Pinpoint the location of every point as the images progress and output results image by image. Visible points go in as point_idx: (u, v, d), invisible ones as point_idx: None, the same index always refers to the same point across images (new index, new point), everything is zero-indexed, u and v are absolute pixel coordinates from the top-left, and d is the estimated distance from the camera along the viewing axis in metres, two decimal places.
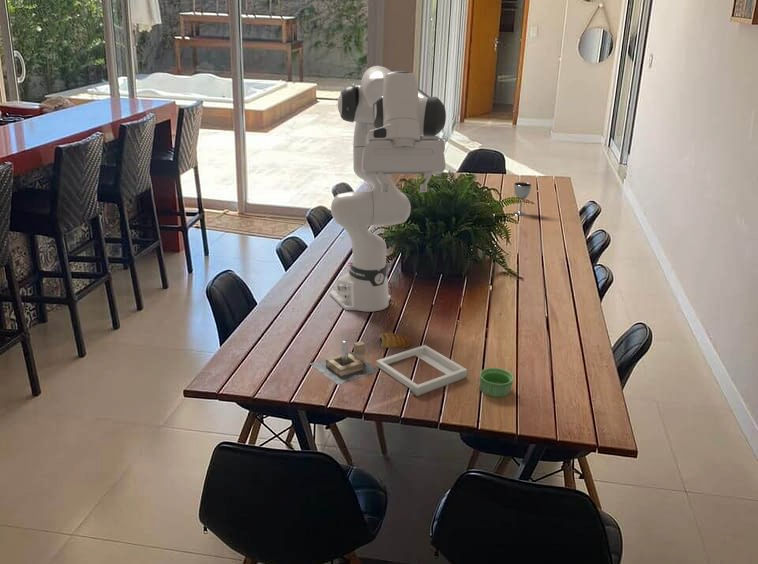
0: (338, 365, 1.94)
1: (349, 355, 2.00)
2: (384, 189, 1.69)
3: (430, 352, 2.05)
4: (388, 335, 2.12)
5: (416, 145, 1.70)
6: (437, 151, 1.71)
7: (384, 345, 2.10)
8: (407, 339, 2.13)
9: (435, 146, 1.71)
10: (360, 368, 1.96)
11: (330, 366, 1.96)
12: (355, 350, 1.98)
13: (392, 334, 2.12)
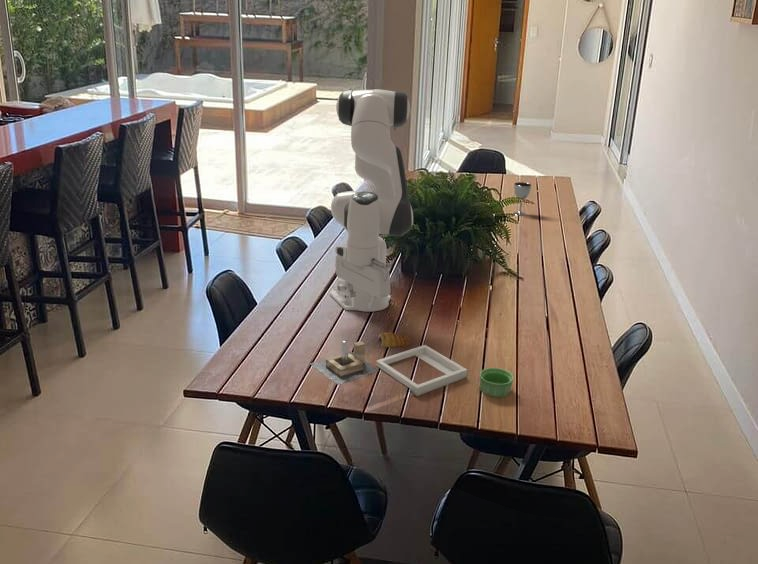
0: (338, 365, 1.94)
1: (349, 355, 2.00)
2: (348, 295, 1.96)
3: (430, 352, 2.05)
4: (387, 335, 2.12)
5: (364, 268, 1.86)
6: (376, 280, 1.83)
7: (384, 345, 2.10)
8: (406, 338, 2.13)
9: (375, 274, 1.82)
10: (360, 368, 1.96)
11: (330, 366, 1.96)
12: (355, 350, 1.98)
13: (391, 334, 2.13)
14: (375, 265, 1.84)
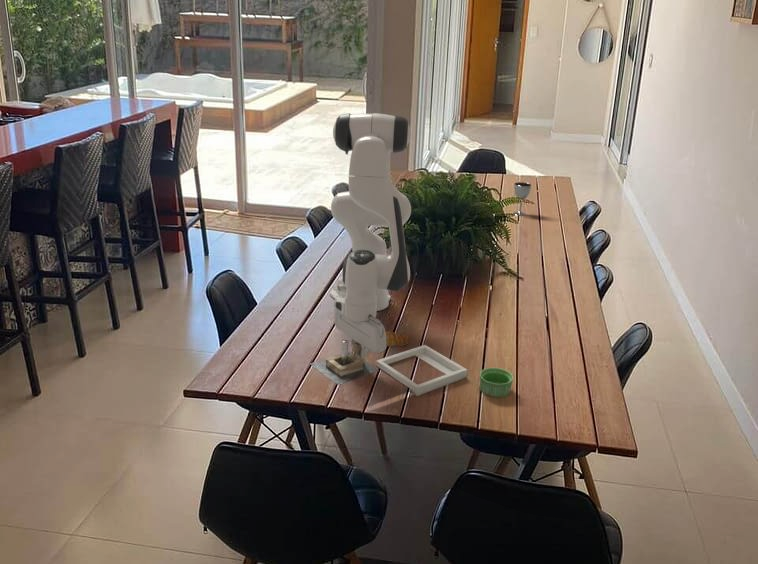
0: (338, 365, 1.94)
1: (349, 355, 2.00)
2: None
3: (430, 352, 2.05)
4: (386, 334, 2.13)
5: (361, 324, 1.92)
6: (372, 336, 1.89)
7: None
8: (405, 337, 2.14)
9: (371, 331, 1.89)
10: (360, 368, 1.96)
11: (330, 366, 1.96)
12: (355, 350, 1.98)
13: (390, 333, 2.13)
14: (372, 321, 1.90)
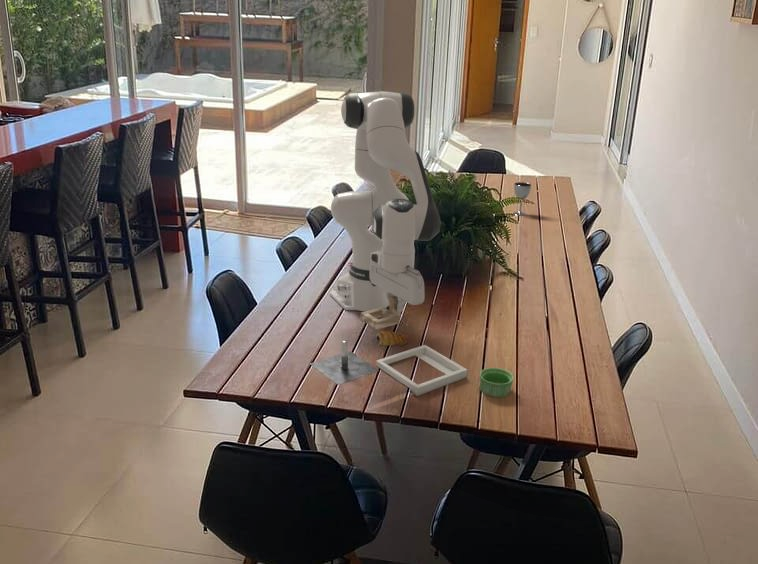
0: (374, 318, 1.88)
1: (384, 310, 1.93)
2: (388, 305, 1.94)
3: (430, 352, 2.05)
4: (385, 333, 2.13)
5: (398, 276, 1.86)
6: (410, 287, 1.83)
7: (382, 343, 2.11)
8: (404, 337, 2.14)
9: (409, 282, 1.82)
10: (396, 322, 1.90)
11: (365, 320, 1.90)
12: (391, 304, 1.92)
13: (389, 332, 2.14)
14: (410, 272, 1.84)
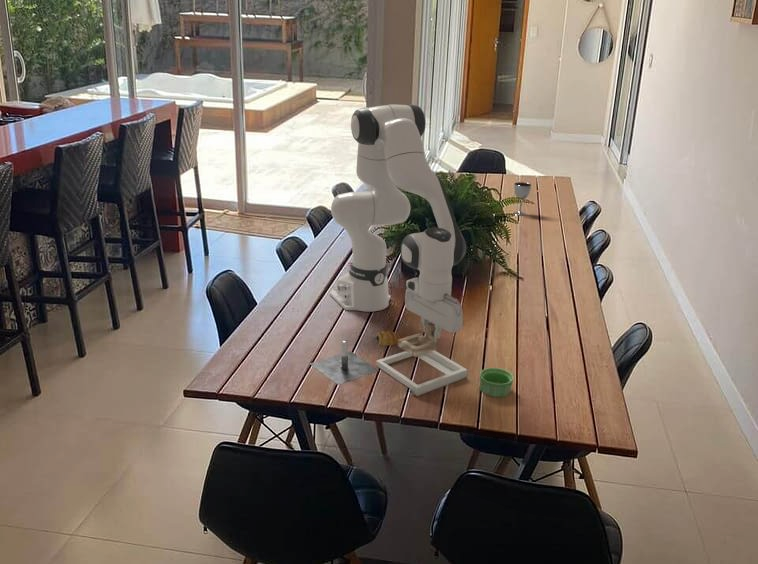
0: (412, 345, 1.90)
1: (421, 336, 1.96)
2: (424, 332, 1.96)
3: (430, 352, 2.05)
4: (385, 333, 2.13)
5: (436, 303, 1.88)
6: (448, 315, 1.85)
7: (381, 343, 2.11)
8: (404, 337, 2.14)
9: (448, 310, 1.85)
10: (434, 349, 1.92)
11: (403, 347, 1.92)
12: (427, 331, 1.94)
13: (389, 332, 2.14)
14: (448, 300, 1.86)
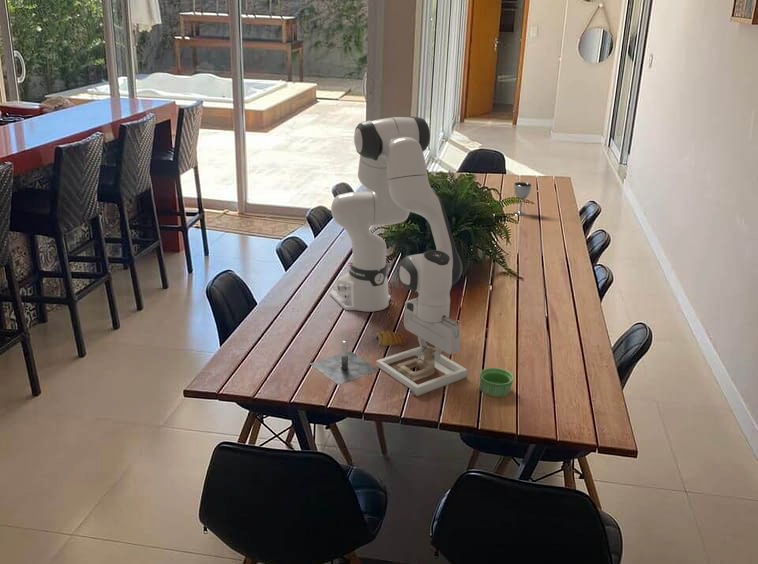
0: (410, 371, 1.93)
1: (419, 361, 1.99)
2: (421, 351, 1.99)
3: None
4: (384, 333, 2.13)
5: (434, 325, 1.91)
6: (447, 337, 1.87)
7: (381, 343, 2.11)
8: (403, 337, 2.14)
9: (446, 332, 1.87)
10: (431, 374, 1.95)
11: (401, 372, 1.95)
12: (426, 356, 1.97)
13: (388, 332, 2.14)
14: (446, 322, 1.89)
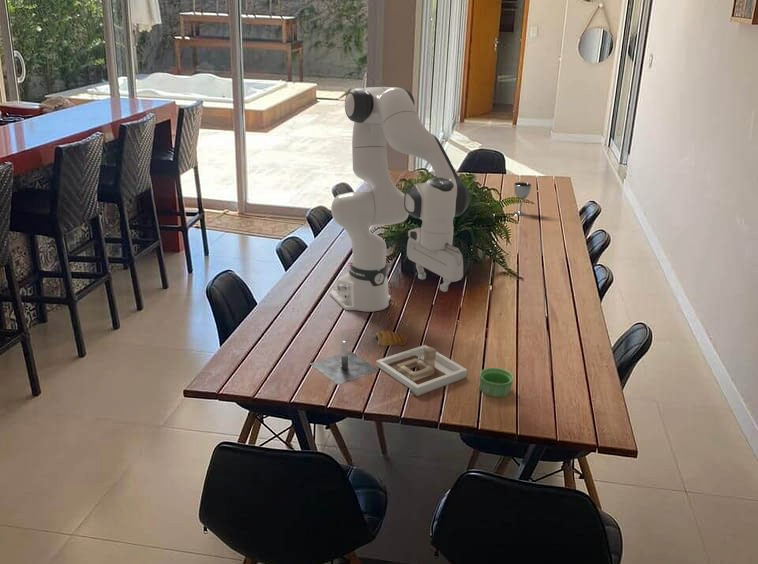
0: (410, 371, 1.93)
1: (419, 361, 1.99)
2: (419, 277, 2.02)
3: None
4: (384, 333, 2.13)
5: (437, 253, 1.91)
6: (449, 264, 1.88)
7: (380, 343, 2.11)
8: (403, 337, 2.14)
9: (449, 259, 1.88)
10: (431, 374, 1.95)
11: (401, 372, 1.95)
12: (426, 356, 1.97)
13: (388, 332, 2.14)
14: (449, 250, 1.89)
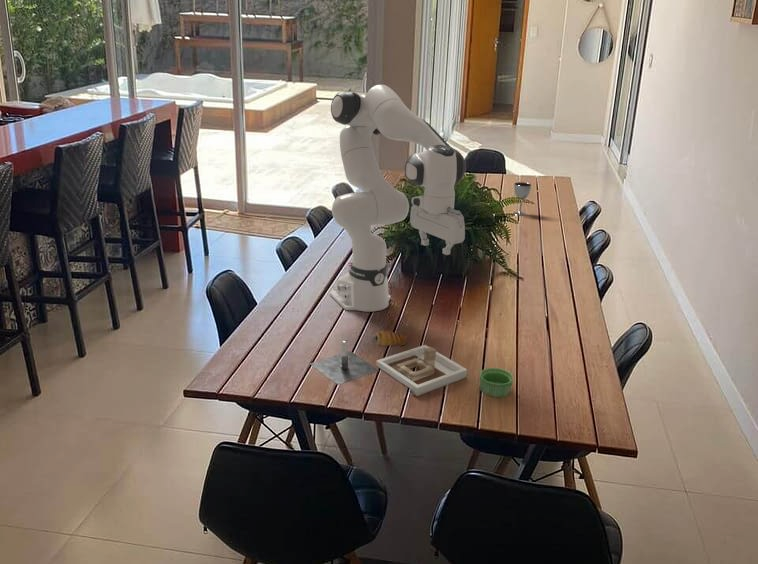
0: (410, 371, 1.93)
1: (419, 361, 1.99)
2: (422, 244, 2.10)
3: None
4: (384, 333, 2.13)
5: (440, 217, 2.00)
6: (452, 227, 1.97)
7: (379, 343, 2.11)
8: (403, 337, 2.14)
9: (451, 221, 1.97)
10: (431, 374, 1.95)
11: (401, 372, 1.95)
12: (426, 356, 1.97)
13: (388, 332, 2.13)
14: (451, 213, 1.98)
